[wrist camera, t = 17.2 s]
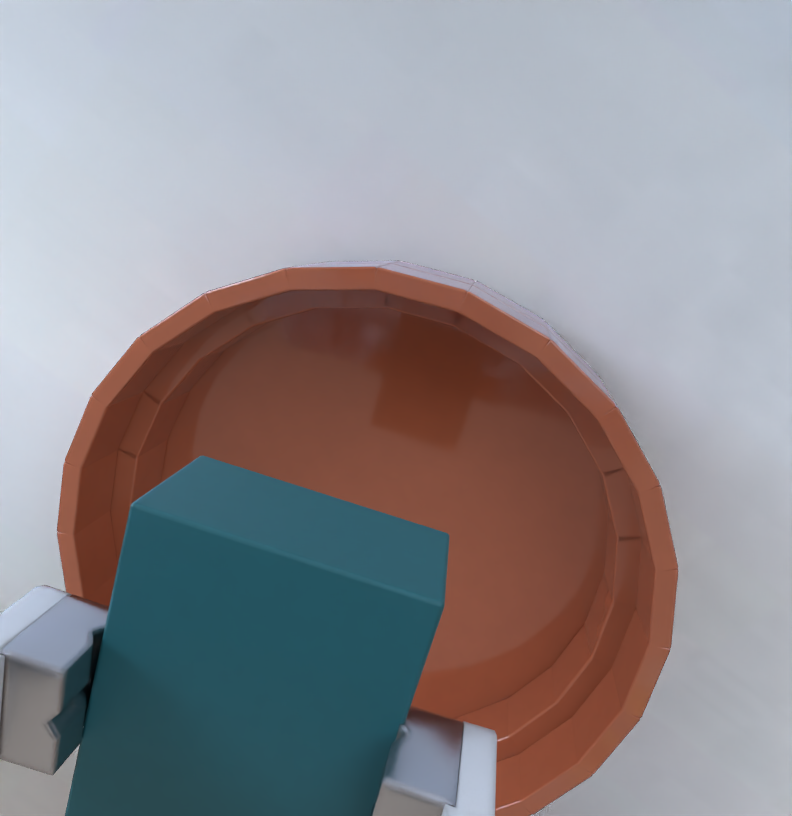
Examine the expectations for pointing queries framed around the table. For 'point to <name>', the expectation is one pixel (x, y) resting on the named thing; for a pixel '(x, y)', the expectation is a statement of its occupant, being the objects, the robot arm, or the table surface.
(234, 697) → the teal sponge
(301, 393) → the bowl
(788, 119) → the table surface
